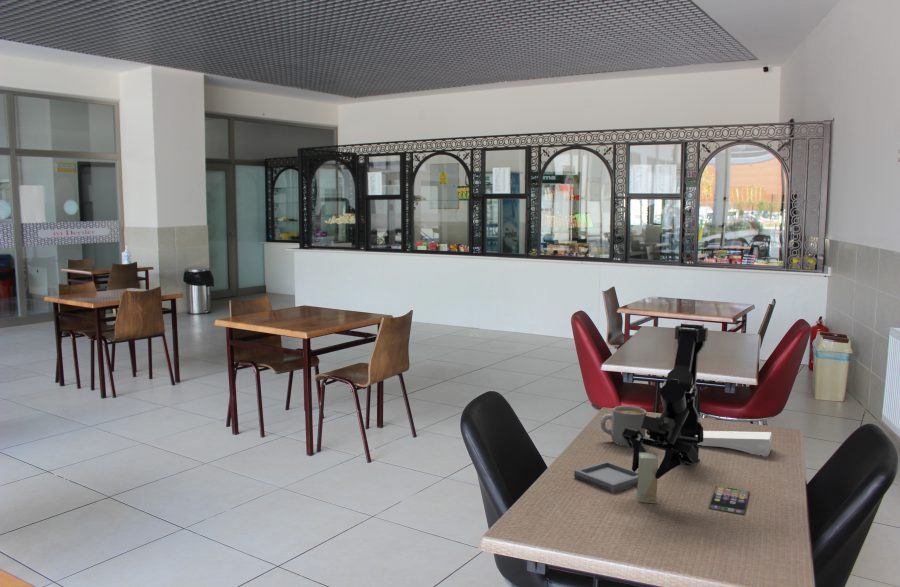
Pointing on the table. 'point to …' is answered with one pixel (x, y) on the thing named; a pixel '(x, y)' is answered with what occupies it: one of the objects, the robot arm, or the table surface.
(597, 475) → the tray
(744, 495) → the smartphone
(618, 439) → the coffee mug
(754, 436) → the wall bracket
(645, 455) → the box
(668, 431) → the robot arm
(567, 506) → the table surface
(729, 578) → the table surface
